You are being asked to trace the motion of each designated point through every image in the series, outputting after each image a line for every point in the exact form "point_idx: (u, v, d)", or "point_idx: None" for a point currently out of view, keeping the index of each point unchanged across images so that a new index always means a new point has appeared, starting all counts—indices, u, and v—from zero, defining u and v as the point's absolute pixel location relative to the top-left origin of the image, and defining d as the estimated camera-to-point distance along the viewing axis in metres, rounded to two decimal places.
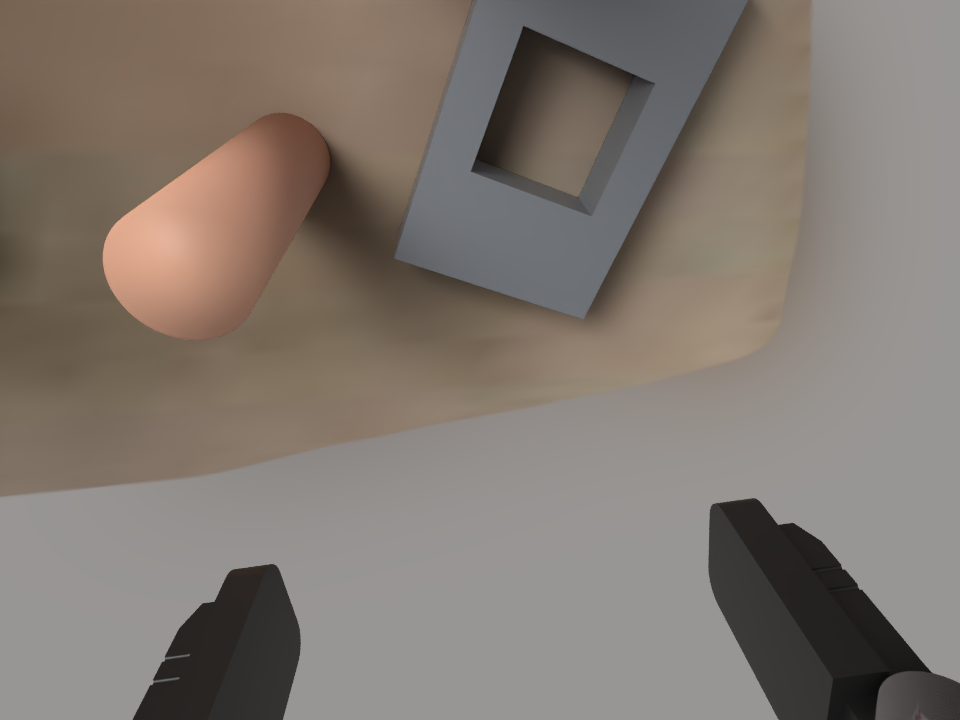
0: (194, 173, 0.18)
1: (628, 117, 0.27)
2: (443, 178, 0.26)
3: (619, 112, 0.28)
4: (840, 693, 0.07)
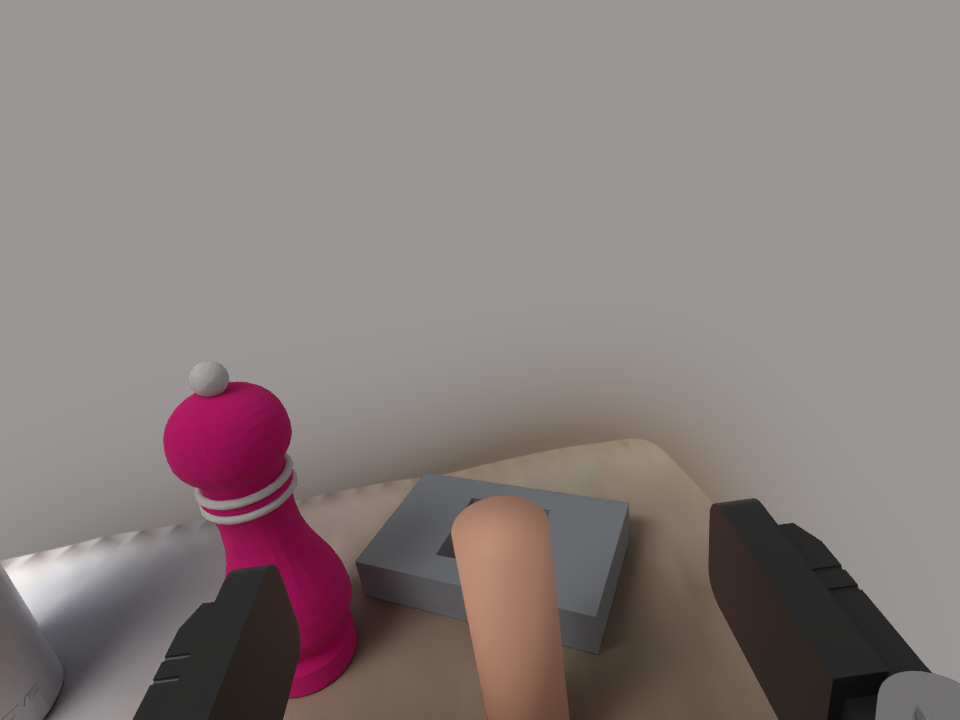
0: None
1: None
2: None
3: None
4: (840, 693, 0.07)
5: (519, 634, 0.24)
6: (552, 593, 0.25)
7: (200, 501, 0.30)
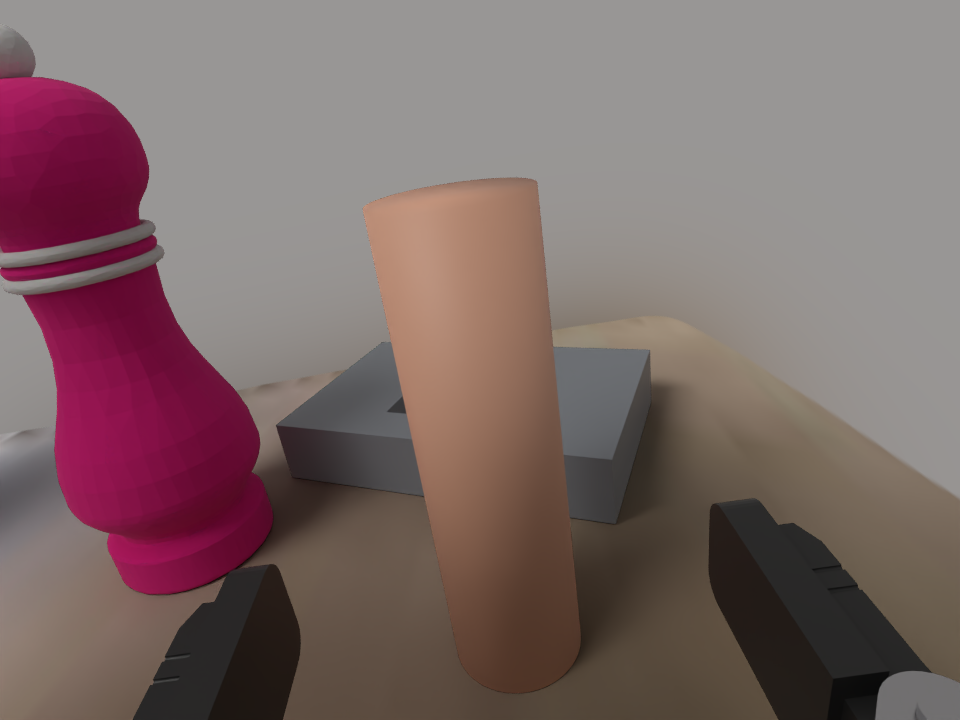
0: None
1: None
2: None
3: None
4: (840, 693, 0.07)
5: (487, 381, 0.13)
6: (545, 320, 0.14)
7: None
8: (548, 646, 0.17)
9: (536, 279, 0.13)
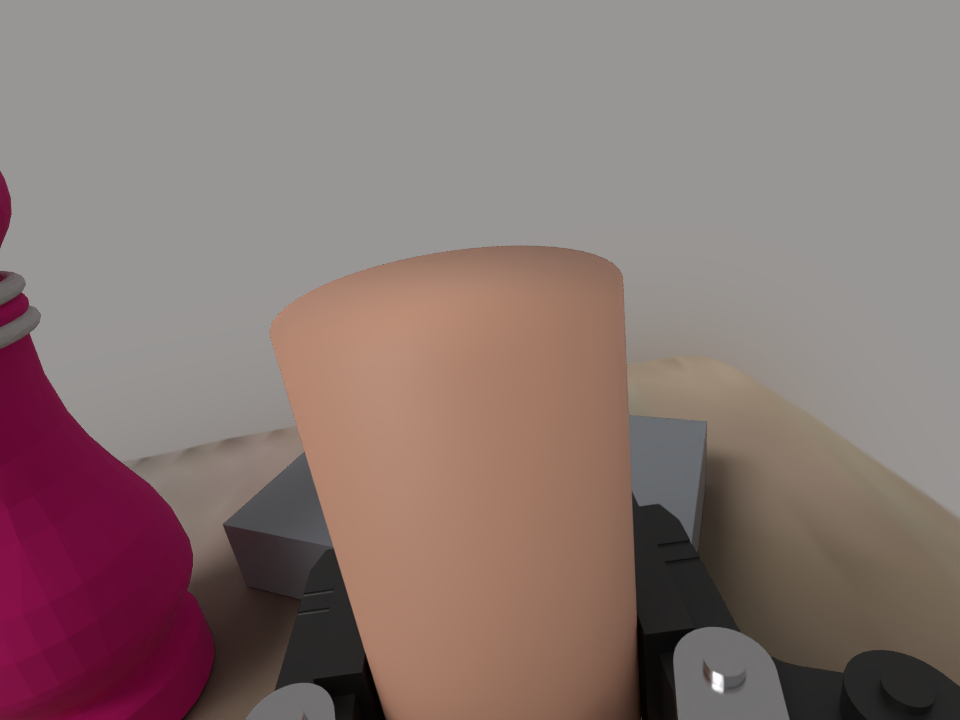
0: None
1: None
2: None
3: None
4: (654, 648, 0.08)
5: (519, 672, 0.07)
6: (629, 530, 0.07)
7: None
8: None
9: (618, 466, 0.07)
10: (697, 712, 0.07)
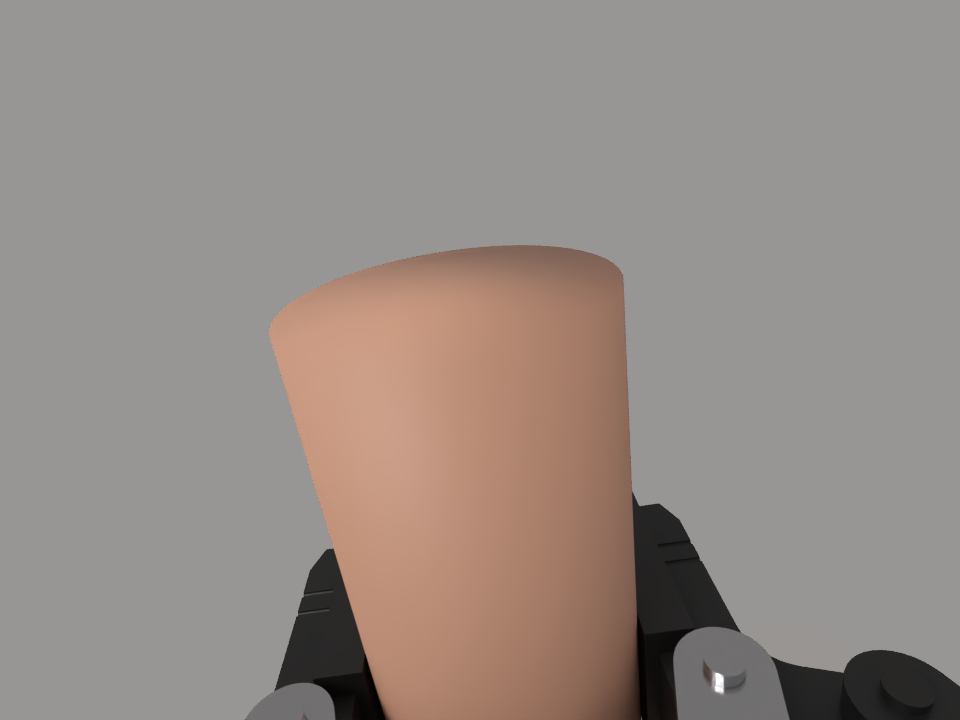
0: None
1: None
2: None
3: None
4: (654, 648, 0.08)
5: (519, 672, 0.07)
6: (629, 530, 0.07)
7: None
8: None
9: (618, 466, 0.07)
10: (697, 712, 0.07)
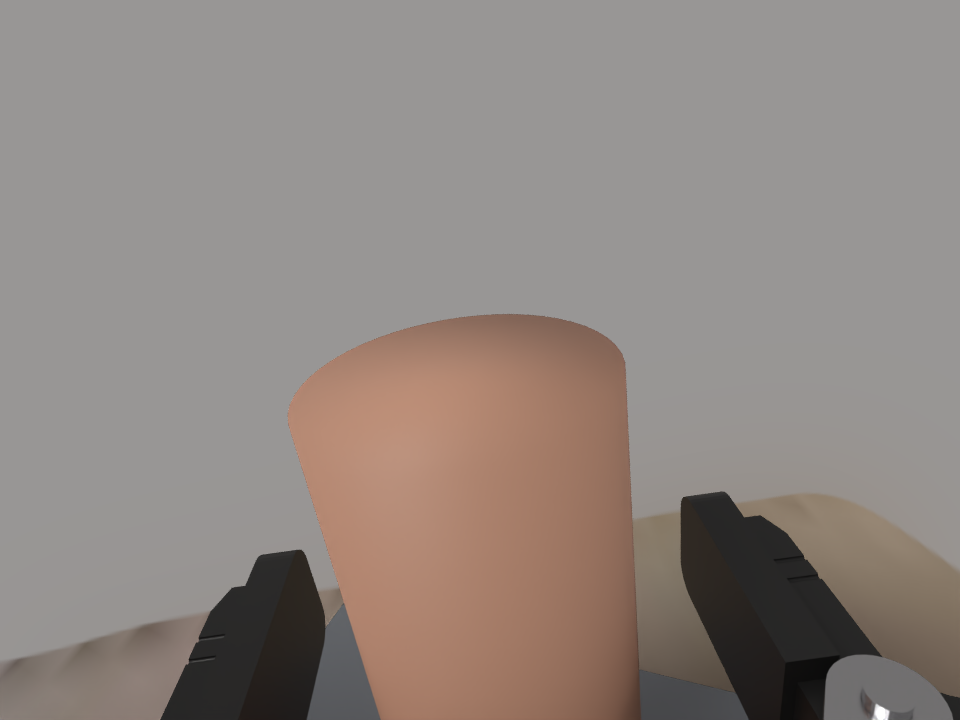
0: None
1: None
2: None
3: None
4: (793, 677, 0.08)
5: None
6: (631, 598, 0.08)
7: None
8: None
9: (621, 543, 0.07)
10: None
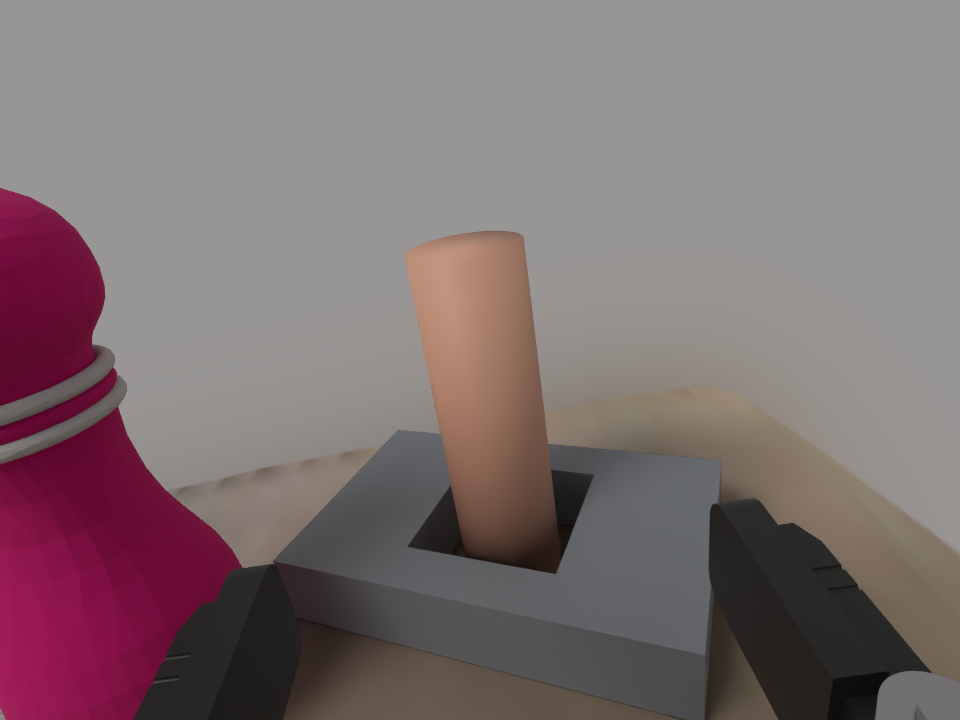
0: None
1: None
2: (567, 599, 0.20)
3: None
4: (840, 693, 0.07)
5: (490, 373, 0.20)
6: (530, 331, 0.20)
7: None
8: (536, 567, 0.23)
9: (523, 304, 0.20)
10: None
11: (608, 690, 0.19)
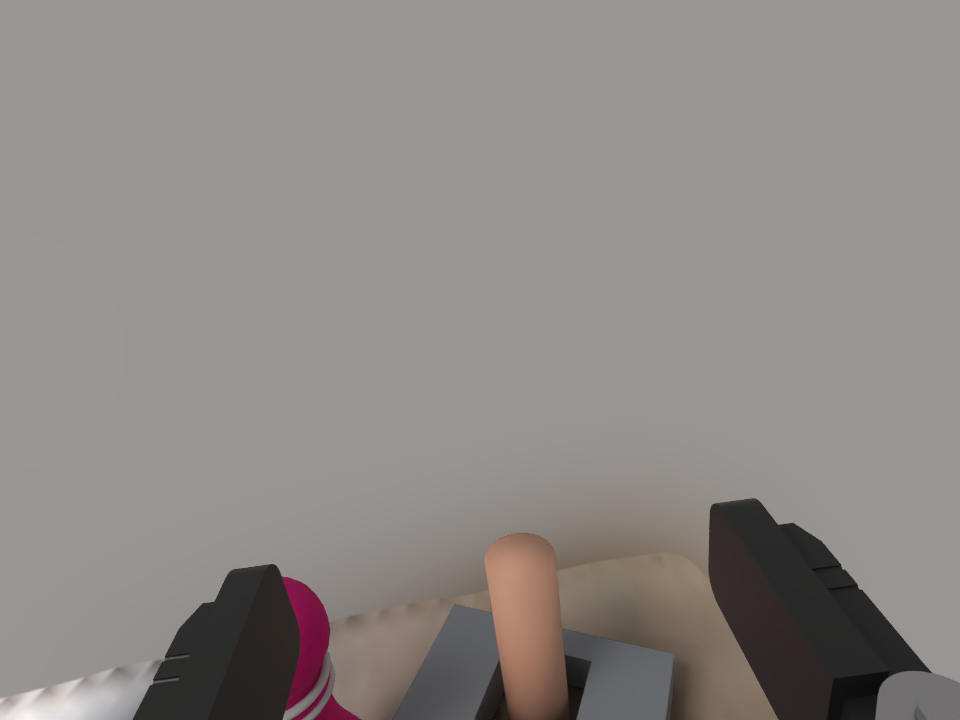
0: (491, 606, 0.35)
1: None
2: None
3: None
4: (840, 693, 0.07)
5: (534, 635, 0.33)
6: (557, 605, 0.34)
7: None
8: None
9: (554, 593, 0.34)
10: None
11: None
